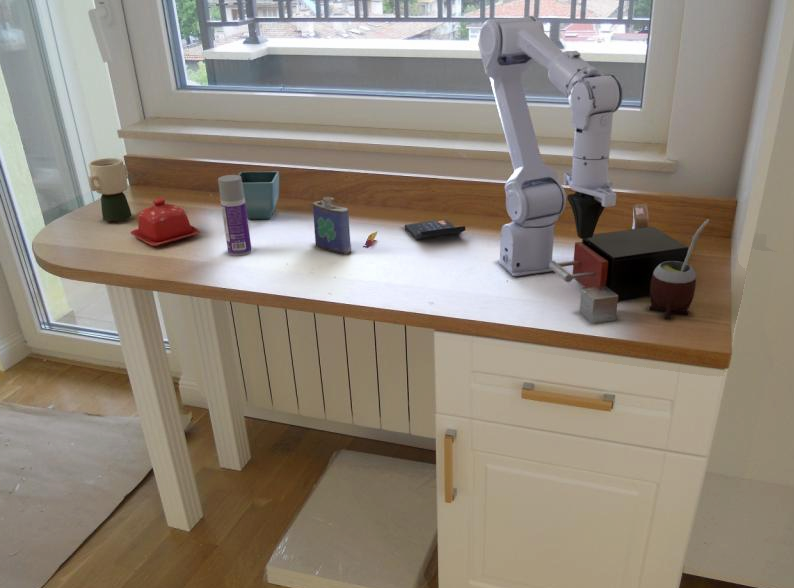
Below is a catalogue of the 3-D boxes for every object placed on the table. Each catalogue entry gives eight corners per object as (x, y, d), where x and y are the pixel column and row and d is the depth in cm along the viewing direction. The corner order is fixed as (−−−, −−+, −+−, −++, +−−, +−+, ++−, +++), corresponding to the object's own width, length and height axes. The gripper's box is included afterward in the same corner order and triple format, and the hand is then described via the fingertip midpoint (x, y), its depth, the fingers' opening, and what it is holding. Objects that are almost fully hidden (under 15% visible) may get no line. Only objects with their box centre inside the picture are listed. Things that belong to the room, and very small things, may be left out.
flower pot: (277, 222, 177) (272, 182, 173) (237, 223, 177) (232, 182, 173) (283, 209, 185) (279, 170, 180) (245, 210, 185) (240, 171, 180)
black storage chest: (608, 302, 137) (613, 257, 133) (578, 278, 146) (582, 235, 142) (681, 291, 141) (688, 247, 136) (647, 268, 150) (653, 226, 146)
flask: (354, 251, 160) (350, 199, 155) (343, 256, 159) (339, 203, 153) (321, 242, 166) (317, 191, 160) (311, 246, 164) (306, 195, 158)
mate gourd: (644, 317, 132) (656, 230, 124) (650, 298, 138) (661, 214, 131) (691, 323, 130) (706, 235, 122) (695, 304, 136) (710, 218, 128)
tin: (647, 266, 151) (653, 223, 147) (630, 265, 151) (635, 222, 147) (644, 238, 164) (649, 198, 159) (628, 237, 164) (633, 197, 160)
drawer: (568, 303, 136) (571, 266, 132) (543, 281, 144) (545, 246, 140) (667, 288, 140) (672, 252, 137) (637, 267, 148) (641, 233, 145)
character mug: (123, 210, 187) (111, 154, 180) (147, 214, 184) (135, 157, 177) (88, 225, 178) (74, 166, 172) (112, 229, 175) (98, 170, 169)
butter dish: (152, 251, 163) (144, 210, 159) (128, 237, 171) (120, 198, 166) (203, 237, 170) (197, 198, 165) (178, 224, 177) (171, 186, 173)
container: (256, 249, 163) (246, 176, 155) (242, 257, 159) (232, 182, 152) (237, 246, 165) (227, 173, 157) (223, 254, 161) (212, 180, 153)
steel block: (591, 324, 130) (594, 299, 128) (579, 313, 134) (581, 288, 132) (615, 320, 131) (618, 295, 129) (602, 309, 135) (605, 285, 133)
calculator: (445, 223, 174) (445, 209, 173) (465, 240, 165) (465, 226, 163) (404, 228, 172) (404, 215, 170) (422, 246, 162) (422, 232, 161)
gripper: (636, 163, 124) (628, 247, 130) (592, 143, 136) (586, 221, 143) (595, 168, 122) (588, 253, 129) (554, 147, 134) (549, 226, 141)
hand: (585, 237), depth 136 cm, fingers closed
